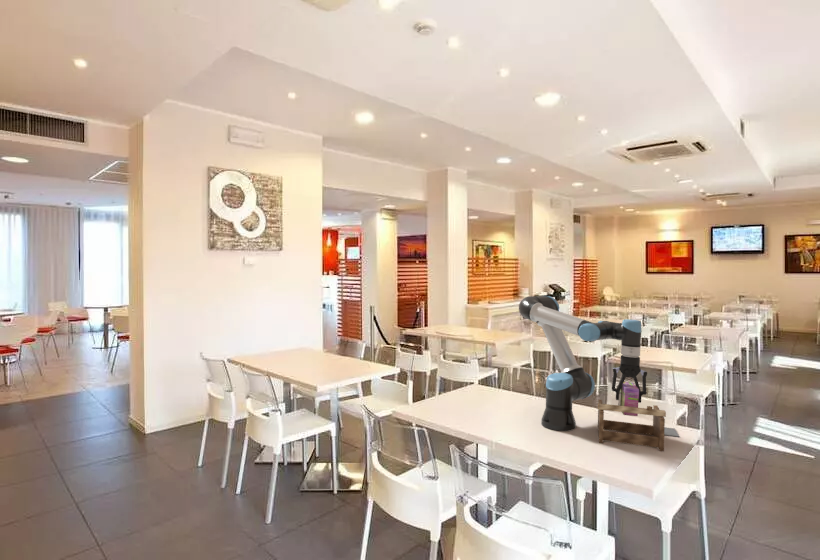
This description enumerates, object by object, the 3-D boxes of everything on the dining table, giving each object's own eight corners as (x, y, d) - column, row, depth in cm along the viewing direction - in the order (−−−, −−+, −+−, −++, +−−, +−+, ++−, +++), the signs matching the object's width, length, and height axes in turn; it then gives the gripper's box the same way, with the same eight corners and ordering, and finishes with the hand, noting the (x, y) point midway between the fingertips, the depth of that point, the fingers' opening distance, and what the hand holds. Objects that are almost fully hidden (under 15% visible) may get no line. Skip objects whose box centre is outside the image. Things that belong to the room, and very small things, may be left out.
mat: (653, 434, 207) (653, 433, 207) (650, 426, 218) (650, 425, 218) (679, 437, 204) (679, 436, 204) (674, 429, 214) (674, 428, 214)
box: (638, 416, 197) (639, 388, 197) (623, 415, 198) (624, 387, 198) (631, 409, 207) (632, 382, 207) (618, 407, 209) (619, 381, 208)
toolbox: (599, 442, 196) (599, 411, 195) (597, 427, 215) (598, 399, 214) (663, 451, 187) (664, 419, 187) (656, 435, 206) (657, 405, 206)
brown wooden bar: (597, 409, 198) (597, 402, 198) (597, 407, 201) (597, 400, 201) (665, 416, 189) (665, 409, 189) (664, 414, 192) (664, 407, 192)
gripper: (606, 355, 202) (604, 408, 203) (656, 359, 195) (653, 414, 196) (606, 352, 209) (603, 403, 210) (653, 356, 202) (651, 409, 203)
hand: (627, 408), depth 203 cm, fingers closed on box, 6 cm apart
